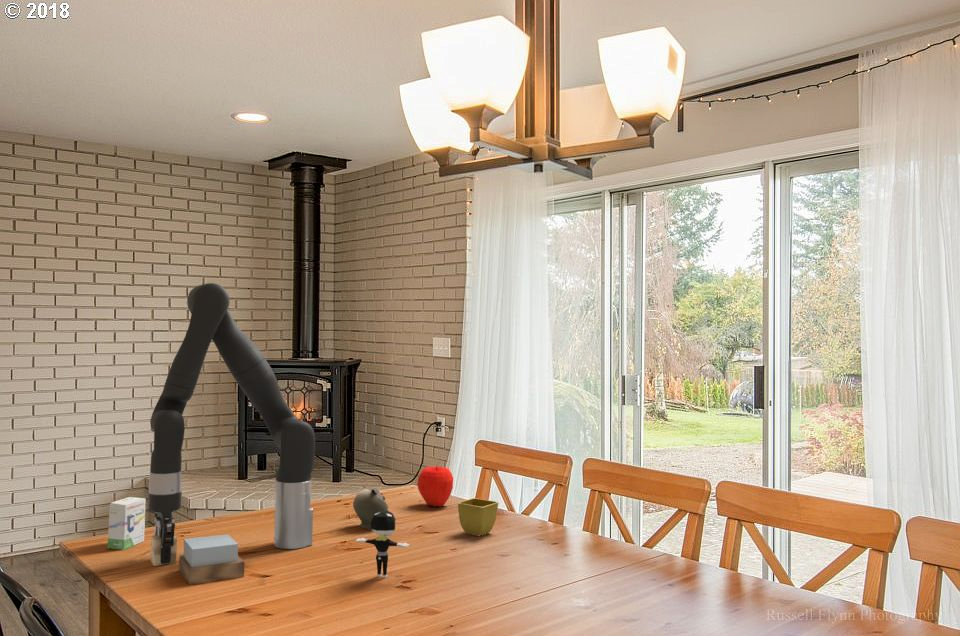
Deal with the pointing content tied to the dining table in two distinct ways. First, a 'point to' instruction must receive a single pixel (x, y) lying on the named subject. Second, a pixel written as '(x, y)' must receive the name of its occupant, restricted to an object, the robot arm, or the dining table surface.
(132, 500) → the ink box
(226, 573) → the walnut plinth block
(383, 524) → the toy
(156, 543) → the maple block
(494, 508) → the flower pot
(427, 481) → the apple
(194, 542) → the slate-blue block
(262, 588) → the dining table surface
